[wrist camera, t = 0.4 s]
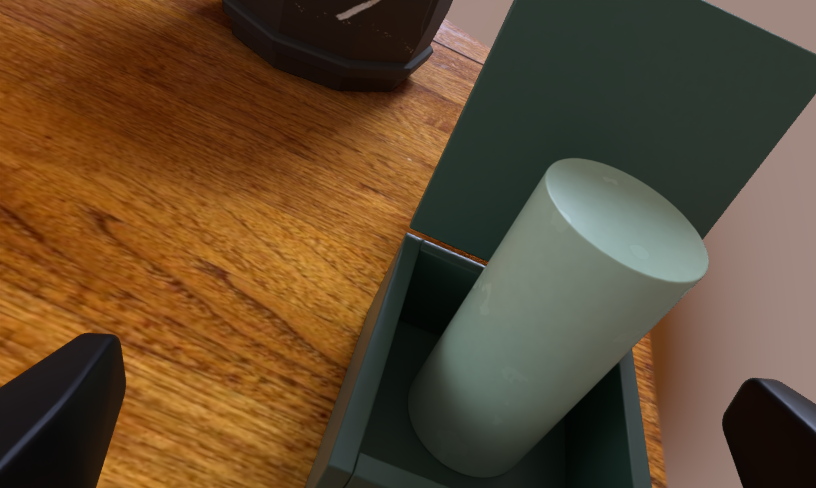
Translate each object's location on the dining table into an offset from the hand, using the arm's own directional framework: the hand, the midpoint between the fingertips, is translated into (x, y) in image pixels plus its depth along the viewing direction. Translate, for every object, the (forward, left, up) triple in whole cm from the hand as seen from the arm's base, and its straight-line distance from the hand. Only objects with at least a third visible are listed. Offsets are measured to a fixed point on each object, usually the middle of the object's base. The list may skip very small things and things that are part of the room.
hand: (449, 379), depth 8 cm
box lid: (+14, -9, -3) cm, 17 cm away
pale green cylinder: (+9, -7, -14) cm, 18 cm away
